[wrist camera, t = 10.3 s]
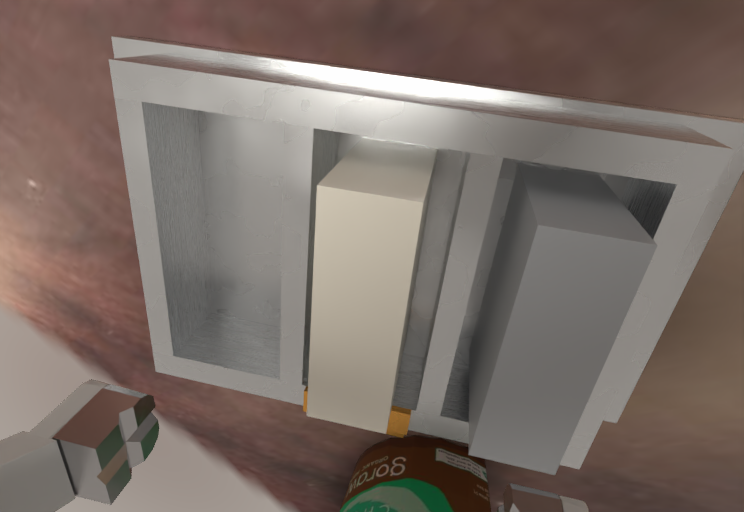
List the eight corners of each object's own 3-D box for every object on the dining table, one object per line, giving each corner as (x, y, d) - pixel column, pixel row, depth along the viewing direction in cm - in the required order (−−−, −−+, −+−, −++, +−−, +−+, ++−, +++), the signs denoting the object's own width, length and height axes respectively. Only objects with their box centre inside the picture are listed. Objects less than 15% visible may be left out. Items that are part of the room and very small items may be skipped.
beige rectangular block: (437, 148, 18) (423, 202, 12) (406, 335, 22) (386, 434, 17) (362, 137, 18) (316, 185, 13) (345, 323, 22) (306, 415, 17)
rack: (750, 120, 16) (847, 154, 12) (606, 416, 23) (636, 504, 19) (127, 35, 19) (30, 39, 15) (165, 321, 26) (105, 379, 22)
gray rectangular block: (600, 176, 17) (657, 245, 12) (534, 363, 21) (554, 475, 16) (518, 163, 17) (538, 224, 12) (469, 349, 22) (468, 455, 16)
